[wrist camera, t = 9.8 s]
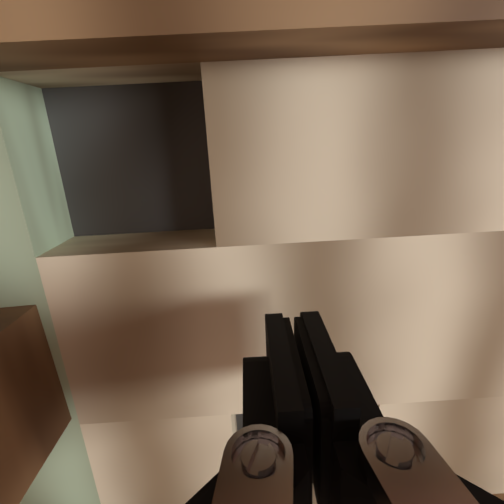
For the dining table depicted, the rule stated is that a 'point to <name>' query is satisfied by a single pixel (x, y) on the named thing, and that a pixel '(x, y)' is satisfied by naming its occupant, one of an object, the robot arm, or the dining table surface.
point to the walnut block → (26, 401)
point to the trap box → (252, 219)
